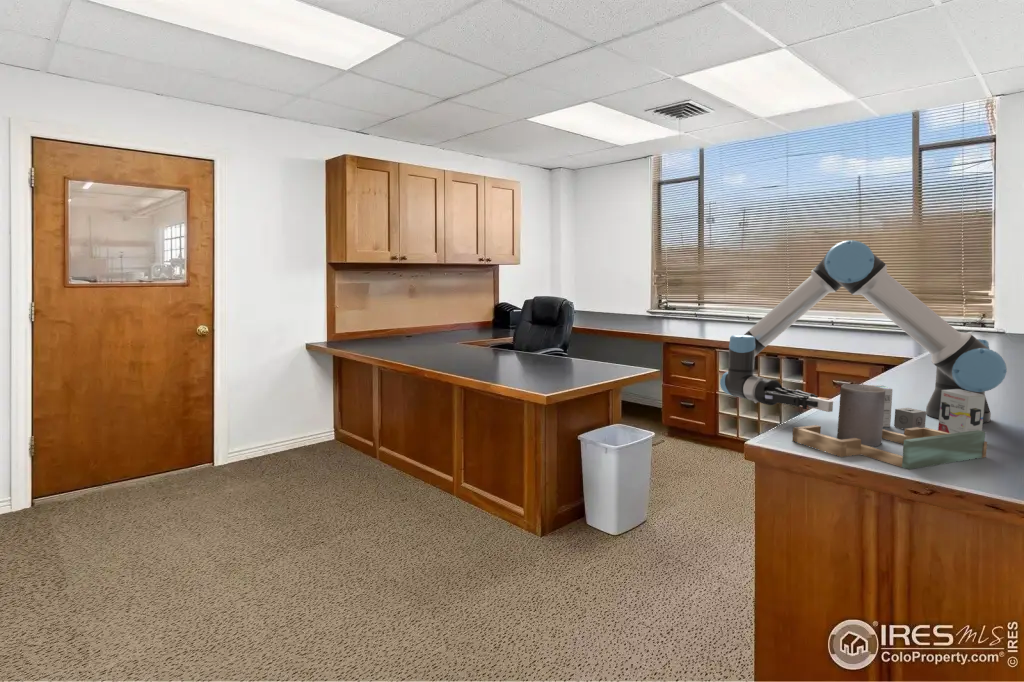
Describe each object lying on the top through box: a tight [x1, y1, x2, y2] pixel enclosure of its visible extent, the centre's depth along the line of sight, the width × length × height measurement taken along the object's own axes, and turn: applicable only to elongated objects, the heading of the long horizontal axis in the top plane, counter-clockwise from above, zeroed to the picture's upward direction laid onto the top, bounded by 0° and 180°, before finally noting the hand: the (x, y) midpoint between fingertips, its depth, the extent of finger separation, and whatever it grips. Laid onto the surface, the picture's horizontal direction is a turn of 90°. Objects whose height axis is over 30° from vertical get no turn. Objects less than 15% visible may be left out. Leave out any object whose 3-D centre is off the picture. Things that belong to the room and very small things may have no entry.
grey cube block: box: [893, 407, 927, 430], centre depth 162 cm, size 5×5×5 cm
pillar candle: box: [836, 382, 886, 448], centre depth 147 cm, size 10×10×15 cm
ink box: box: [937, 389, 986, 434], centre depth 152 cm, size 9×5×12 cm, turn 5°
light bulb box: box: [842, 384, 893, 428], centre depth 166 cm, size 11×7×11 cm, turn 84°
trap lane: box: [791, 424, 988, 470], centre depth 142 cm, size 26×31×6 cm
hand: (830, 406), depth 156 cm, fingers closed
